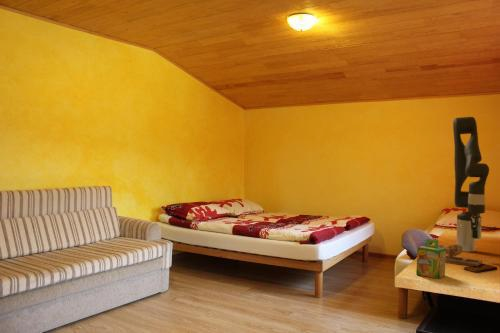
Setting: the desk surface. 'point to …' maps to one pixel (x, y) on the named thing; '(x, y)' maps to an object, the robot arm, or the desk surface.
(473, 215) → the robot arm
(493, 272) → the desk surface
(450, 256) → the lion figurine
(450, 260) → the board
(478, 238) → the block
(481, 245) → the desk surface
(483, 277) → the desk surface
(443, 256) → the chalk box
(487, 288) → the desk surface
